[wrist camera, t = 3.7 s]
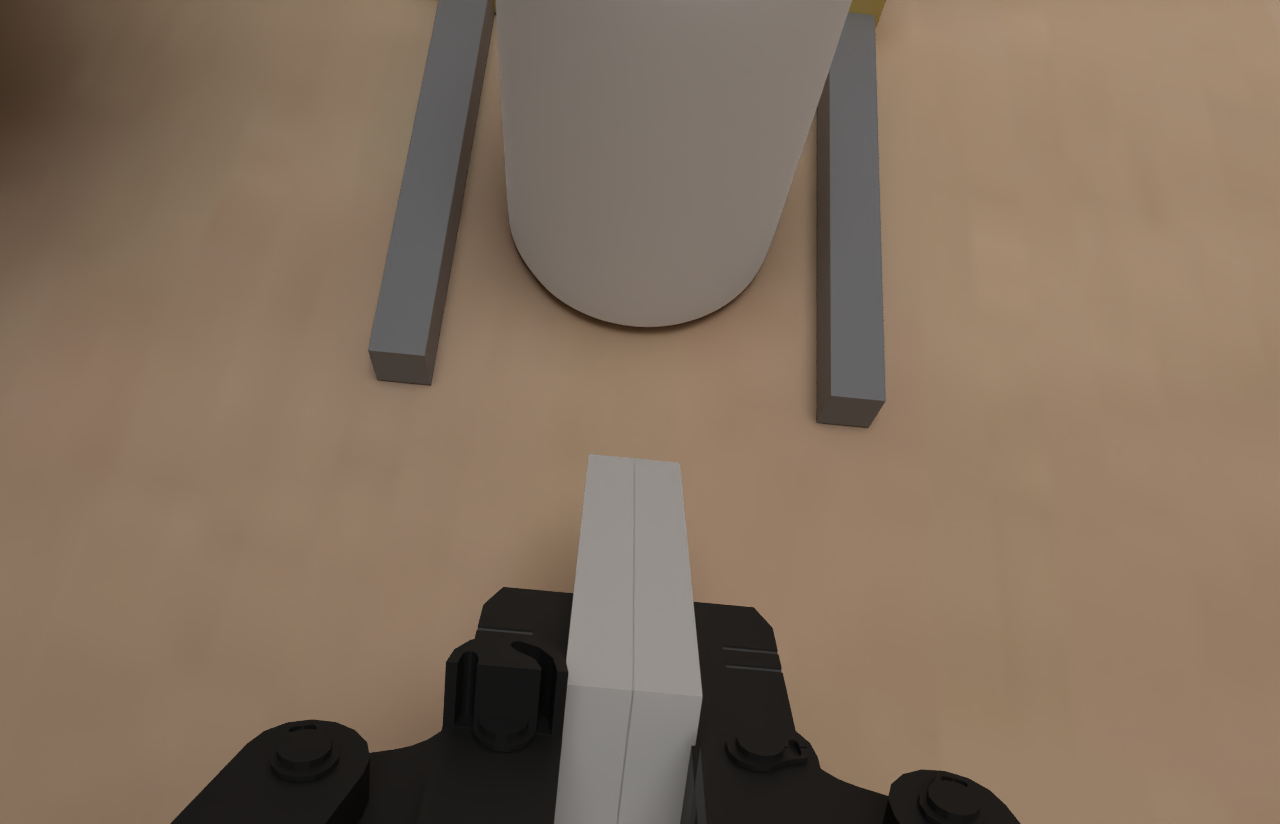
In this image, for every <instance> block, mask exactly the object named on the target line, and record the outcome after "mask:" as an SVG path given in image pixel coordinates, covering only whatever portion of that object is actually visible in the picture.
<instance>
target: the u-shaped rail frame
mask: <svg viewBox="0 0 1280 824" xmlns="http://www.w3.org/2000/svg"><path fill="white" fill-rule="evenodd" d="M885 1H886V0H852V2H851V5H850V8H849V11H848V14H847V17H846V20H845V23H844V26H843V29H842V33H841V36H840V39H839V42H838V45H837V48H836V51H835V54H834V57H833V60H832V63H831V66H830V69H829V72H828V75H827V78H826V81H825V84H824V87H823V91H822V94H821V97H820V100H819V103H818V106H817V423H828V424H838V425H848V426H859V427H869V426H870V424H871V423H872V421H873V420H874V418H875V417H876V415H877V414H878V412H879V411H880V409H881V407H882V406H883V404H884V403H885V401H886V397H885V362H884V327H883V292H882V257H881V222H880V187H879V152H878V117H877V82H876V47H875V29H876V26H877V23H878V21H879V18H880V15H881V12H882V10H883V7H884V4H885ZM495 13H496V0H439V2H438V7H437V12H436V17H435V22H434V27H433V32H432V37H431V42H430V47H429V52H428V57H427V62H426V67H425V72H424V77H423V82H422V87H421V91H420V96H419V101H418V106H417V111H416V116H415V121H414V126H413V131H412V136H411V141H410V146H409V151H408V156H407V161H406V166H405V171H404V175H403V180H402V185H401V190H400V195H399V200H398V205H397V210H396V215H395V220H394V225H393V230H392V235H391V240H390V245H389V250H388V255H387V260H386V264H385V269H384V274H383V279H382V284H381V289H380V294H379V299H378V304H377V309H376V314H375V319H374V324H373V329H372V334H371V339H370V344H369V348H368V352H369V355H370V358H371V361H372V364H373V367H374V370H375V374H376V377H377V380H385V381H395V382H405V383H416V384H426V385H431V381H432V376H433V370H434V364H435V358H436V352H437V346H438V341H439V335H440V329H441V323H442V317H443V311H444V306H445V300H446V294H447V288H448V282H449V276H450V271H451V265H452V259H453V253H454V247H455V242H456V236H457V230H458V224H459V218H460V212H461V207H462V201H463V195H464V189H465V183H466V177H467V172H468V166H469V160H470V154H471V148H472V142H473V137H474V131H475V125H476V119H477V113H478V107H479V102H480V96H481V90H482V84H483V78H484V72H485V67H486V61H487V55H488V49H489V43H490V38H491V32H492V26H493V20H494V14H495Z"/></svg>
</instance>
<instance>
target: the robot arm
mask: <svg viewBox="0 0 1280 824" xmlns="http://www.w3.org/2000/svg"><path fill="white" fill-rule="evenodd" d="M171 824H1020V822H1019V821H1018V820H1017V819H1016V817H1015V816H1014V815H1013V814H1012V812H1011V811H1010V810H1009V809H1008V807H1007V806H1006V805H1005V804H1004V803H1003V802H1002V801H1001V800H1000V799H998V798H997V797H996V796H995V795H994V794H993V793H992V792H991V791H990V790H988V789H987V788H985V787H983V786H981V785H979V784H978V783H976V782H974V781H972V780H970V779H969V778H966V777H963V776H959V775H957V774H953V773H949V772H946V771H936V770H918V771H914V772H910V773H906V774H903V775H902V776H900V777H899V778H898V779H897V780H896V781H894V782H893V783H892V784H891V788H890V792H889V796H886V795H883V794H880V793H876V792H873V791H870V790H867V789H864V788H860V787H857V786H854V785H852V784H849V783H847V782H844V781H842V780H839V779H837V778H835V777H834V776H832V775H830V774H828V773H827V772H825V771H823V770H822V769H821V768H820V765H819V761H818V757H817V755H816V753H815V752H814V750H813V748H812V746H811V744H810V743H809V742H808V741H807V740H806V739H804V738H803V737H802V736H801V735H800V734H799V733H797V732H796V731H795V726H794V722H793V717H792V713H791V708H790V704H789V699H788V695H787V690H786V686H785V681H784V677H783V673H781V664H780V659H779V655H778V654H777V646H776V641H775V637H774V632H773V628H772V627H771V626H770V625H769V624H768V623H767V621H766V620H765V619H764V618H763V617H762V616H761V615H760V614H759V613H758V612H757V611H756V609H755V608H754V607H743V606H733V605H722V604H711V603H700V602H693V593H692V583H691V573H690V562H689V552H688V542H687V531H686V521H685V511H684V501H683V490H682V480H681V470H680V463H677V462H667V461H656V460H646V459H636V458H625V457H615V456H605V455H594V454H589V458H588V467H587V476H586V485H585V495H584V504H583V513H582V522H581V531H580V540H579V549H578V558H577V567H576V576H575V585H574V594H573V593H563V592H552V591H541V590H530V589H519V588H508V587H503V588H502V589H501V590H499V591H498V592H497V593H496V594H495V595H494V596H493V597H491V598H490V599H489V600H488V601H487V602H486V603H485V604H484V605H483V609H482V612H481V616H480V620H479V624H478V630H477V631H476V635H475V639H472V640H469V641H468V642H466V643H464V644H463V645H461V646H459V647H458V648H456V649H454V651H453V652H452V654H451V655H450V657H449V658H448V660H447V661H446V675H445V694H444V713H443V727H442V731H441V732H439V733H438V734H436V735H434V736H433V737H431V738H430V739H428V740H426V741H423V742H420V743H418V744H415V745H413V746H409V747H404V748H399V749H395V750H388V751H380V752H373V753H369V750H368V745H367V742H366V741H365V740H364V739H363V738H362V737H361V736H360V735H359V734H358V733H357V732H356V731H355V730H353V729H351V728H348V727H346V726H344V725H341V724H339V723H336V722H330V721H321V720H304V721H296V722H288V723H285V724H282V725H279V726H277V727H274V728H271V729H269V730H266V731H264V732H263V733H261V734H260V735H258V736H257V737H256V738H254V739H253V740H252V741H250V742H249V743H247V744H246V745H245V746H244V747H243V749H242V750H241V751H240V752H239V753H238V754H237V755H236V756H235V757H234V758H233V759H232V760H231V761H230V762H229V763H228V764H227V765H226V766H225V767H224V768H223V769H222V770H221V771H220V772H219V774H218V775H217V776H216V777H215V778H214V779H213V780H212V781H211V782H210V783H209V784H208V785H207V786H206V787H205V788H204V789H203V790H202V791H201V792H200V793H199V794H198V795H197V796H196V797H195V799H194V800H193V801H192V802H191V803H190V804H189V805H188V806H187V807H186V808H185V809H184V810H183V811H182V812H181V813H180V814H179V815H178V816H177V817H176V818H175V819H174V820H173V821H172V822H171Z"/></svg>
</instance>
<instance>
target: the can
mask: <svg viewBox="0 0 1280 824" xmlns="http://www.w3.org/2000/svg"><path fill="white" fill-rule="evenodd" d="M851 2H852V0H496V16H497V35H498V54H499V72H500V91H501V108H502V126H503V144H504V160H505V177H506V192H507V207H508V217H509V224H510V229H511V233H512V237H513V239H514V242H515V245H516V247H517V249H518V251H519V253H520V255H521V257H522V258H523V260H524V262H525V263H526V265H527V266H528V268H529V269H530V270H531V272H532V273H533V274H534V275H535V277H536V278H537V279H538V280H539V281H540V282H541V284H542V285H543V286H544V287H545V288H546V289H547V290H548V291H549V292H551V293H552V294H553V295H554V296H555V297H557V298H558V299H559V300H561V301H562V302H564V303H565V304H567V305H569V306H570V307H572V308H574V309H576V310H578V311H580V312H582V313H584V314H586V315H589V316H591V317H594V318H597V319H600V320H603V321H607V322H611V323H615V324H620V325H627V326H636V327H660V326H669V325H675V324H680V323H685V322H688V321H692V320H695V319H698V318H701V317H703V316H706V315H708V314H710V313H712V312H714V311H716V310H718V309H720V308H721V307H723V306H724V305H726V304H727V303H729V302H730V301H732V300H733V299H734V298H735V297H737V296H738V295H739V294H740V293H741V292H742V291H743V290H744V289H745V288H746V287H747V286H748V285H749V284H750V282H751V281H752V280H753V279H754V277H755V276H756V274H757V273H758V271H759V269H760V268H761V266H762V264H763V262H764V260H765V258H766V255H767V253H768V250H769V248H770V245H771V242H772V240H773V237H774V234H775V231H776V228H777V225H778V222H779V219H780V217H781V214H782V211H783V208H784V205H785V202H786V199H787V196H788V193H789V190H790V187H791V184H792V181H793V178H794V175H795V172H796V169H797V166H798V163H799V160H800V157H801V154H802V151H803V148H804V145H805V142H806V139H807V136H808V133H809V130H810V127H811V124H812V121H813V118H814V115H815V112H816V109H817V106H818V103H819V100H820V97H821V94H822V91H823V87H824V84H825V81H826V78H827V75H828V72H829V69H830V66H831V63H832V60H833V57H834V54H835V51H836V48H837V45H838V42H839V39H840V36H841V33H842V29H843V26H844V23H845V20H846V17H847V14H848V11H849V8H850V5H851Z"/></svg>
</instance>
